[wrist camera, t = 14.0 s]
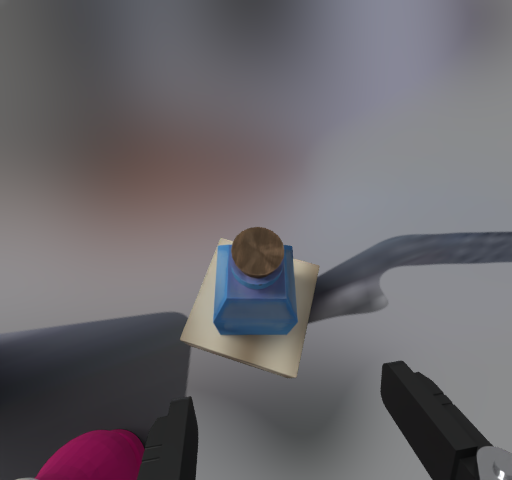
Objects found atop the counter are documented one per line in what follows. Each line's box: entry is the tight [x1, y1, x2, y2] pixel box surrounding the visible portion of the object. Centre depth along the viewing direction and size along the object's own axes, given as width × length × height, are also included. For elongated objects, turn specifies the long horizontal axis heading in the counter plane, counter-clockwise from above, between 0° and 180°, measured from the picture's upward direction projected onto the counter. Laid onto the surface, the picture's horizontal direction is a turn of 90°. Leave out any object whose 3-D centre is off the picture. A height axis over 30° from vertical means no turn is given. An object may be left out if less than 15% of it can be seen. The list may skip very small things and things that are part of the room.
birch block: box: [180, 238, 319, 378], centre depth 30 cm, size 11×11×6 cm
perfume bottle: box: [213, 227, 298, 335], centre depth 22 cm, size 6×6×12 cm
